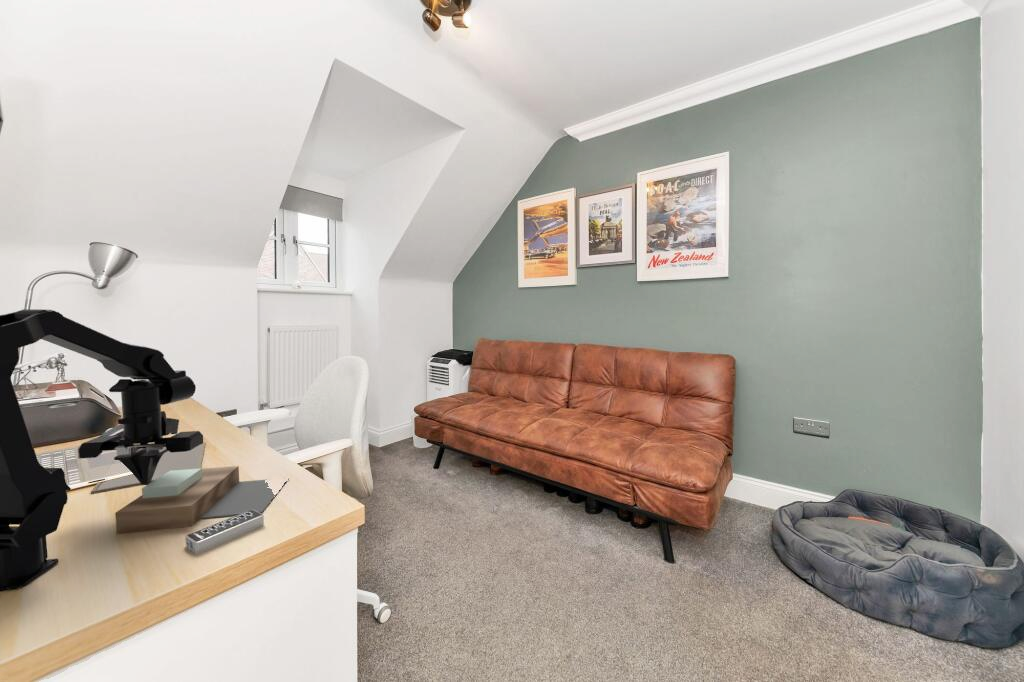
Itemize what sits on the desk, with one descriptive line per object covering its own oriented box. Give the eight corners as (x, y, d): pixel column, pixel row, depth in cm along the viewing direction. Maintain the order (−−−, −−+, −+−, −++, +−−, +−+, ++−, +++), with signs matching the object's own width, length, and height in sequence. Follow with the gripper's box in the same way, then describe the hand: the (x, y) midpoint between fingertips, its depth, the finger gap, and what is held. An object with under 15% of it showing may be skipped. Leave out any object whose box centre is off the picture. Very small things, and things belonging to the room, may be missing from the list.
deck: (192, 525, 75) (191, 505, 74) (116, 533, 72) (115, 512, 72) (239, 482, 94) (238, 465, 94) (180, 487, 91) (180, 470, 91)
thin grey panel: (119, 458, 110) (90, 496, 88) (119, 454, 110) (90, 491, 88) (205, 445, 122) (200, 475, 99) (205, 442, 121) (199, 471, 99)
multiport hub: (264, 526, 75) (264, 514, 75) (196, 556, 66) (195, 543, 66) (252, 520, 78) (252, 508, 78) (185, 548, 68) (184, 535, 68)
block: (178, 495, 79) (177, 485, 78) (142, 498, 77) (141, 488, 77) (202, 477, 87) (201, 468, 87) (170, 479, 86) (170, 470, 86)
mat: (262, 513, 80) (262, 511, 80) (199, 519, 77) (199, 517, 77) (289, 478, 96) (289, 477, 96) (238, 483, 94) (238, 481, 94)
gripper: (214, 399, 90) (217, 465, 91) (116, 403, 86) (120, 473, 87) (186, 411, 79) (190, 486, 80) (72, 416, 75) (78, 495, 76)
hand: (146, 484), depth 81 cm, fingers closed
